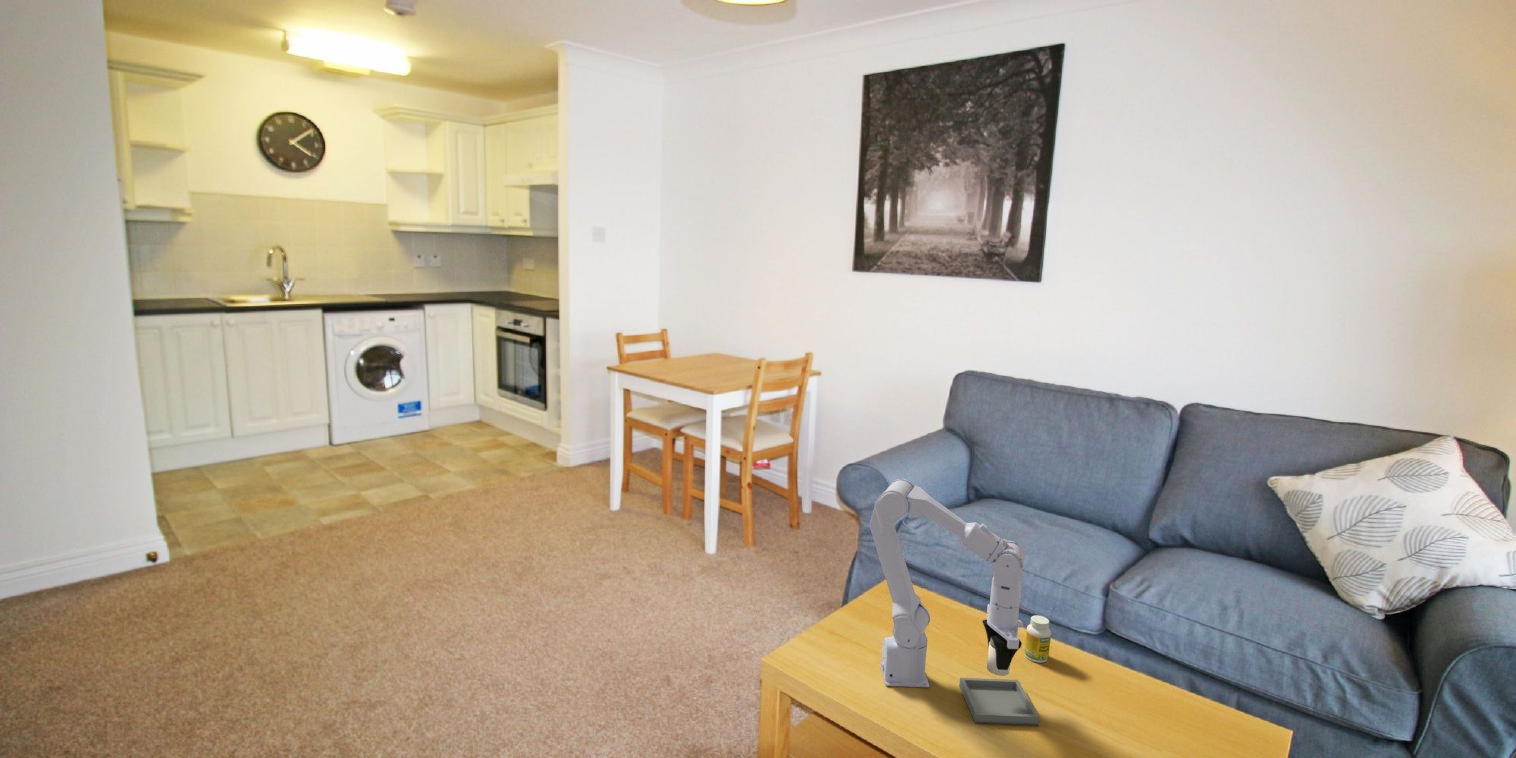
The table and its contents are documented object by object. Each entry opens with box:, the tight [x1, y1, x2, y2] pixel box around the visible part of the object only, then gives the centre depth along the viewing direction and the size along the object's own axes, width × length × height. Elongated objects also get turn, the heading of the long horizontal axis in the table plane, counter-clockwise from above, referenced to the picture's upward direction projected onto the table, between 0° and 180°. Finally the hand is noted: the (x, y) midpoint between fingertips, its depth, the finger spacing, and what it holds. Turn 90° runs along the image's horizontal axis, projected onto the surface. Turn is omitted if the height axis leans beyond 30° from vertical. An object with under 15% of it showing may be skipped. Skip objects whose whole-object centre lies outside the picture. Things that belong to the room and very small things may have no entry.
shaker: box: [986, 636, 1011, 677], centre depth 151 cm, size 4×4×6 cm
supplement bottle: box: [1023, 614, 1052, 664], centre depth 169 cm, size 5×5×10 cm
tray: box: [958, 677, 1040, 727], centre depth 151 cm, size 13×13×2 cm
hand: (998, 661), depth 151 cm, fingers closed on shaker, 4 cm apart
